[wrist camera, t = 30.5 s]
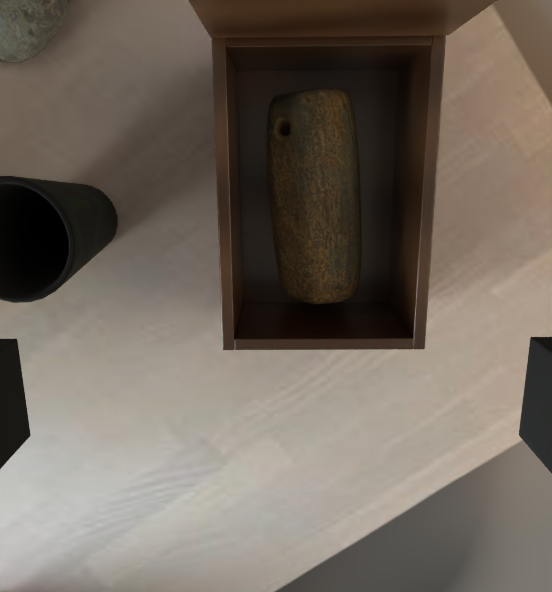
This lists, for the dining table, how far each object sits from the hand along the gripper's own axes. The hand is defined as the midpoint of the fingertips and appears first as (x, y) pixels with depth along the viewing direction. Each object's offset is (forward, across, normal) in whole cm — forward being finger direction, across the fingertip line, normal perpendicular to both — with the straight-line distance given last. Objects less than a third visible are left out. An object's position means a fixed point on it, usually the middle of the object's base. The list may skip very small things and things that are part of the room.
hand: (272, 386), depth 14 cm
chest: (+31, +3, +3) cm, 31 cm away
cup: (+31, -16, +1) cm, 35 cm away
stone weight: (+30, +3, +3) cm, 30 cm away
